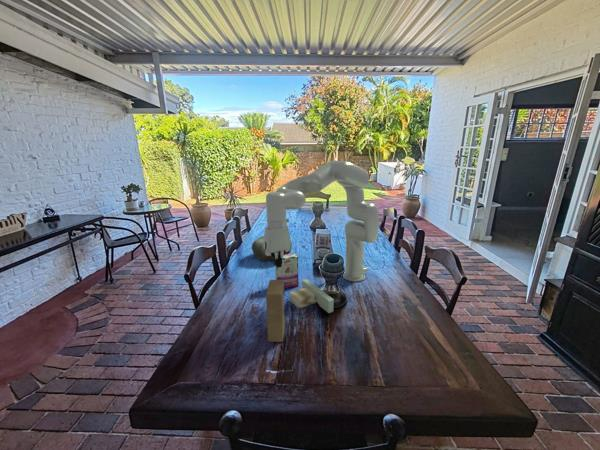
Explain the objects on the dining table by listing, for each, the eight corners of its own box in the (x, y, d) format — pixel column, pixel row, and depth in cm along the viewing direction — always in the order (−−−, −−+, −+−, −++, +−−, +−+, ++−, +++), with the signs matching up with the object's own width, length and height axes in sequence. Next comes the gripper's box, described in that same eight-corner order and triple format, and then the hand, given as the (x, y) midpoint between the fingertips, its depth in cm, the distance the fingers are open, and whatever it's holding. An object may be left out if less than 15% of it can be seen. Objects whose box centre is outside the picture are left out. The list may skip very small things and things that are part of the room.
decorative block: (271, 323, 113) (269, 279, 108) (285, 324, 113) (284, 279, 107) (267, 342, 103) (265, 294, 97) (282, 342, 102) (281, 294, 97)
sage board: (306, 289, 139) (306, 278, 138) (333, 311, 121) (333, 299, 119) (302, 291, 138) (302, 280, 136) (328, 313, 120) (329, 301, 118)
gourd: (299, 258, 171) (293, 231, 167) (260, 271, 163) (253, 243, 159) (286, 248, 194) (281, 224, 190) (252, 259, 186) (245, 235, 182)
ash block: (306, 295, 135) (306, 287, 133) (315, 303, 128) (315, 294, 127) (290, 300, 130) (289, 292, 129) (298, 309, 124) (298, 300, 122)
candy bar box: (296, 281, 147) (295, 252, 143) (298, 286, 143) (298, 256, 138) (275, 284, 145) (274, 255, 140) (277, 289, 140) (276, 259, 135)
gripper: (288, 218, 117) (289, 259, 122) (255, 224, 109) (257, 267, 115) (297, 223, 110) (298, 265, 116) (263, 229, 103) (265, 274, 108)
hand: (278, 266), depth 115 cm, fingers closed
